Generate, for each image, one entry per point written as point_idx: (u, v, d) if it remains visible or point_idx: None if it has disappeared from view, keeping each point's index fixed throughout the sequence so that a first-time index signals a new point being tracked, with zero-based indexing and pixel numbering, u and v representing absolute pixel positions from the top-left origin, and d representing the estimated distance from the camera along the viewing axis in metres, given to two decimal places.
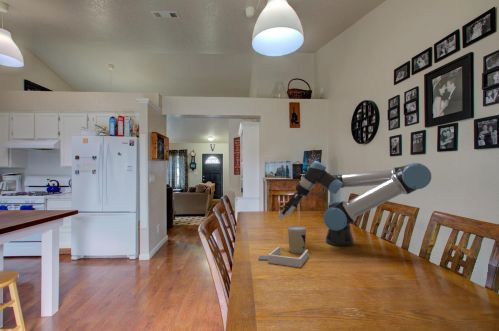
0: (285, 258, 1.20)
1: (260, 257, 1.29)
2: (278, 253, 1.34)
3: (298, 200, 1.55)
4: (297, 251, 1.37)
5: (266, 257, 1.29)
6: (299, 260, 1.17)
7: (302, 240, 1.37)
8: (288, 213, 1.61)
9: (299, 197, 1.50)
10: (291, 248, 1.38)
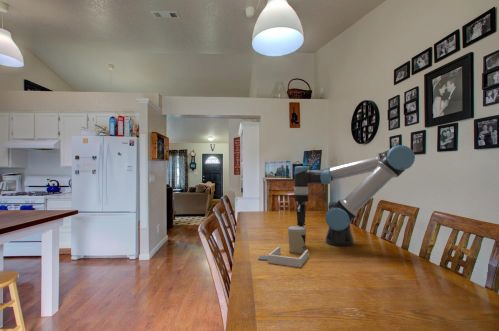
0: (285, 258, 1.20)
1: (260, 257, 1.29)
2: (278, 253, 1.34)
3: None
4: (297, 251, 1.37)
5: (266, 257, 1.29)
6: (299, 260, 1.17)
7: (302, 240, 1.37)
8: None
9: (302, 207, 1.48)
10: (291, 248, 1.38)
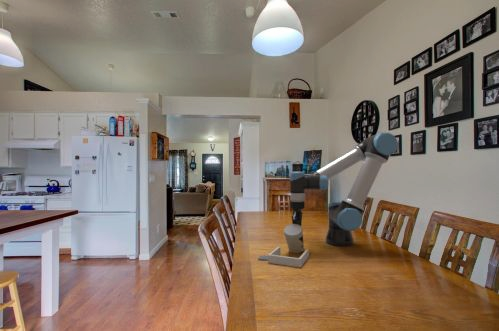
0: (285, 258, 1.20)
1: (260, 257, 1.29)
2: (278, 253, 1.34)
3: None
4: (296, 251, 1.36)
5: (266, 257, 1.29)
6: (299, 260, 1.17)
7: (300, 242, 1.34)
8: None
9: (298, 214, 1.42)
10: (290, 249, 1.37)
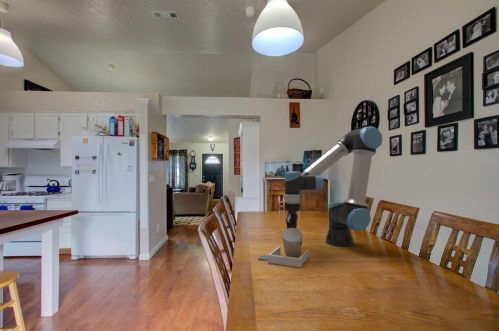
0: (285, 258, 1.20)
1: (260, 257, 1.29)
2: (278, 253, 1.34)
3: None
4: (296, 257, 1.28)
5: (266, 257, 1.29)
6: (299, 260, 1.17)
7: (300, 246, 1.26)
8: None
9: (293, 217, 1.34)
10: (289, 255, 1.28)
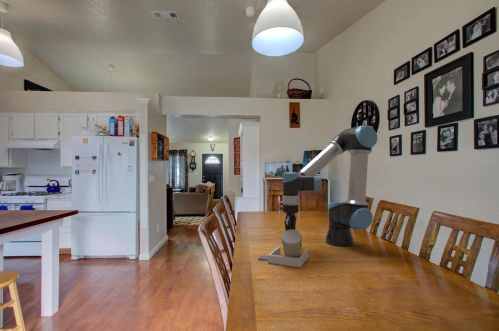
0: (285, 258, 1.20)
1: (260, 257, 1.29)
2: (278, 253, 1.34)
3: None
4: None
5: (266, 257, 1.29)
6: (299, 260, 1.17)
7: (300, 248, 1.22)
8: None
9: (292, 219, 1.30)
10: None
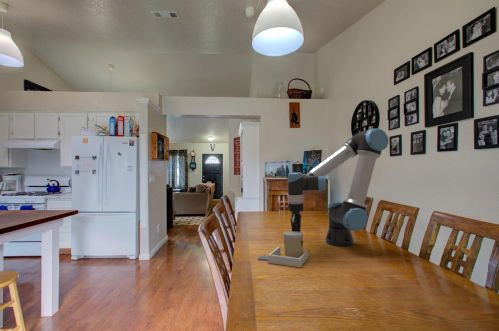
0: (285, 258, 1.20)
1: (260, 257, 1.29)
2: (278, 253, 1.34)
3: None
4: None
5: (266, 257, 1.29)
6: (299, 260, 1.17)
7: (301, 246, 1.26)
8: None
9: (297, 217, 1.37)
10: (289, 256, 1.25)
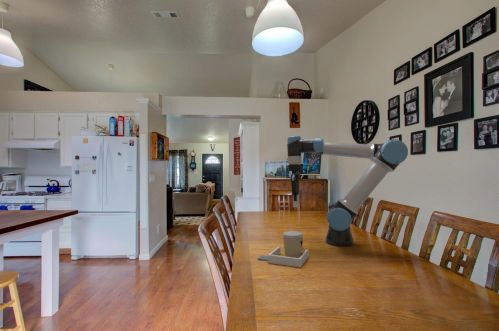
0: (285, 258, 1.20)
1: (260, 257, 1.29)
2: (278, 253, 1.34)
3: None
4: None
5: (266, 257, 1.29)
6: (299, 260, 1.17)
7: (301, 246, 1.25)
8: None
9: (296, 176, 1.49)
10: (289, 256, 1.25)
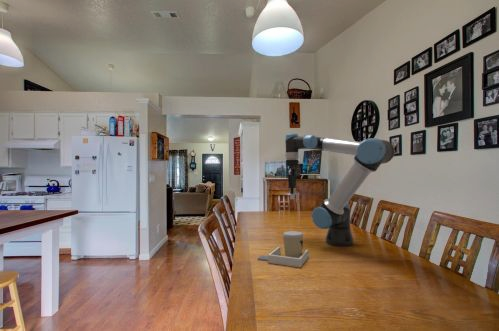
0: (285, 258, 1.20)
1: (260, 257, 1.29)
2: (278, 253, 1.34)
3: None
4: None
5: (266, 257, 1.29)
6: (299, 260, 1.17)
7: (301, 246, 1.25)
8: None
9: (293, 170, 1.61)
10: (289, 256, 1.25)
